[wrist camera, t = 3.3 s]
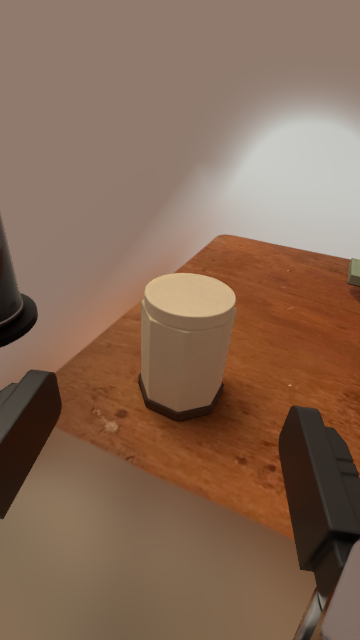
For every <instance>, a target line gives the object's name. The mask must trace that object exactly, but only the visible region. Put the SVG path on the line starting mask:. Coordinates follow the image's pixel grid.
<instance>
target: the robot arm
mask: <svg viewBox="0 0 360 640" xmlns="http://www.w3.org/2000/svg"><path fill="white" fill-rule="evenodd" d="M23 313H24V303H23V299H22V297H21V296H20V291H19V287H18V283H17V279H16V274H15V270H14V266H13V262H12V258H11V254H10V250H9V246H8V241H7V237H6V233H5V229H4V225H3V221H2V218H1V213H0V331H2V330H4V329H6V328H8V327H10V326H11V325H13V324H14V323H15V322H17V321H18V320H19V319H20V318H21V316H22V315H23ZM61 407H62V403H61V397H60V393H59V388H58V383H57V378H56V375H55V373H53V372H47V371H39V370H30V371H28V372H27V373H26V375H25V376H24V377H23V378H22V380H21V381H20V382H19V383H18V384H17V383H11V384H10V385H8V386H7V387H5V388H4V389H2V390H1V391H0V519H3V518H4V517H5V515H6V513H7V511H8V510H9V508H10V506H11V504H12V502H13V501H14V499H15V497H16V495H17V493H18V491H19V490H20V488H21V486H22V484H23V482H24V481H25V479H26V477H27V475H28V473H29V472H30V470H31V468H32V466H33V464H34V463H35V461H36V459H37V457H38V455H39V454H40V452H41V450H42V448H43V446H44V445H45V443H46V441H47V439H48V437H49V436H50V433H51V432H52V430H53V428H54V426H55V425H56V423H57V421H58V419H59V416H60V413H61ZM279 456H280V461H281V467H282V472H283V478H284V483H285V489H286V494H287V500H288V505H289V511H290V516H291V522H292V527H293V533H294V538H295V544H296V549H297V555H298V560H299V566H300V570H307V571H312V572H314V575H315V579H316V584H317V587H316V588H315V590H314V593H313V595H312V597H311V599H310V602H309V604H308V606H307V608H306V611H305V613H304V615H303V618H302V620H301V622H300V624H299V627H298V629H297V631H296V633H295V636H294V638H293V640H360V478H359V477H358V475H359V474H358V471H357V469H356V466H355V464H353V459H352V456H351V454H350V451H349V449H348V446H347V444H346V442H345V441H344V440H343V439H342V438H341V436H340V435H339V434H338V433H337V431H336V430H335V429H334V428H330V427H325V426H324V423H323V420H322V417H321V414H320V412H319V411H318V409H315V408H308V407H300V406H292V407H291V408H290V411H289V413H288V416H287V418H286V421H285V423H284V426H283V428H282V431H281V433H280V437H279Z"/></svg>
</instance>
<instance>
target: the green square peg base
mask: <svg viewBox="0 0 360 640" xmlns="http://www.w3.org/2000/svg"><path fill="white" fill-rule="evenodd" d="M348 284H352V285H356V286H360V260H358V259H354V258H352V259H351V261H350V264H349V267H348Z"/></svg>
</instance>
